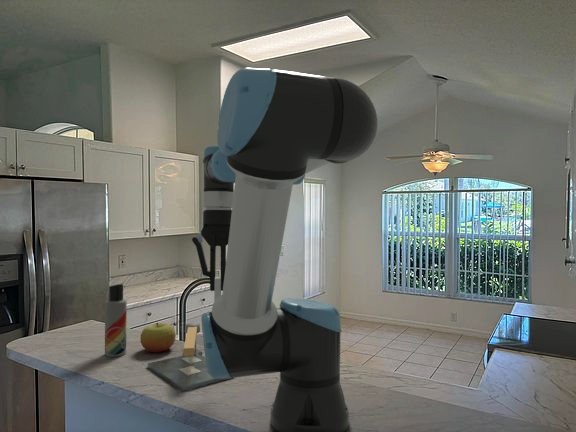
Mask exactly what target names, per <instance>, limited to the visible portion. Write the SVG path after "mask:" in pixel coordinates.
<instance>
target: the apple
mask: <svg viewBox="0 0 576 432" xmlns="http://www.w3.org/2000/svg"><path fill="white" fill-rule="evenodd" d="M139 338H140V344H141V346H142V347H143V348H144V350H146V351H147V352H150V353H162V352H165V351H167V350H170V348H171V347H172V346H173V345H174V343H175V341H176V338H177V337H176V331H175V328H174V327H173V325H171V324H169V323H164V322H163V323H159V322H155V323H153V324H149V325H147V326H145V327H144V329H143V330H142V331H141V333H140V337H139Z"/></svg>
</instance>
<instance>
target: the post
mask: <svg viewBox="0 0 576 432" xmlns="http://www.w3.org/2000/svg"><path fill="white" fill-rule="evenodd" d="M194 353H198V354H200V355H202V356H203V351H201V350H199V348H197V343H196V344H195V351H194ZM182 355H184V350H183V351H182Z"/></svg>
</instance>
